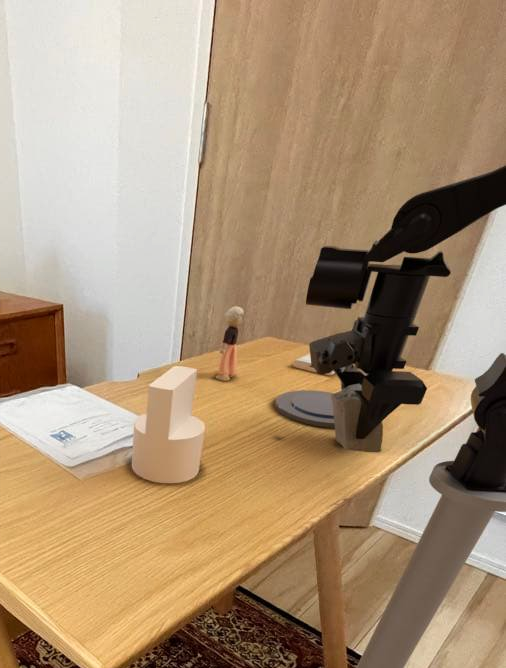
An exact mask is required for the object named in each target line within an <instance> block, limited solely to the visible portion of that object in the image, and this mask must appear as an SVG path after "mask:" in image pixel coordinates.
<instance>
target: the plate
mask: <svg viewBox="0 0 506 668" xmlns="http://www.w3.org/2000/svg"><path fill="white" fill-rule="evenodd" d="M334 393H335V392H329V391H324V390H312V389H311V390H309V389H308V390H307V389H302V390H301V389H300V390H291V391H286V392H283V393H282V394H279V395H278V396H277V397H276V399H275V403H274V407H275V409H276V410H277V412H278V413H279V414H281V415H283V416H284V417H286V418H288V419H290V420H293V421H296V422H298V423H301V424H305V425H309V426H314V427H319V428H327V429H335V423H334V414H333V405H332V399H331V394H334Z"/></svg>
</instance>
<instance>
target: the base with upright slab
mask: <svg viewBox="0 0 506 668" xmlns="http://www.w3.org/2000/svg"><path fill="white" fill-rule="evenodd" d="M197 375H198V369H197V368H193V367H187V366H181V365H174V366H173V367H171V368H170V369H168V370H167V371H166V372H165V373H163V374H161V375H160V376H159V377H158V378H156V379H155V380H154V381H153V382H151V383H150V384H149V385H148V386H147V388H148V389H147V402H146V413H143V414H140V415H138V416H137V417H136V418H134V421H133V435H132V454H131V469H132V472H133V473H134V474H136V475H137V476H138V477H140V478H141V479H144V480H147V481H149V482H152V483H153V482H154V483H158V484H181V483H185V482H187V481H190V480H192V479H194V478H195V477H196V476H197V475H198V473H199V471H200V465H201V459H202V451H203V445H204V439H205V430H206V426H205V423H204V422H203V421H202V419H200V418H198V417H197V416H194V415H193V414H192V413H193V406H194V399H195V393H196V391H195V390H196V383H197Z"/></svg>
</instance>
